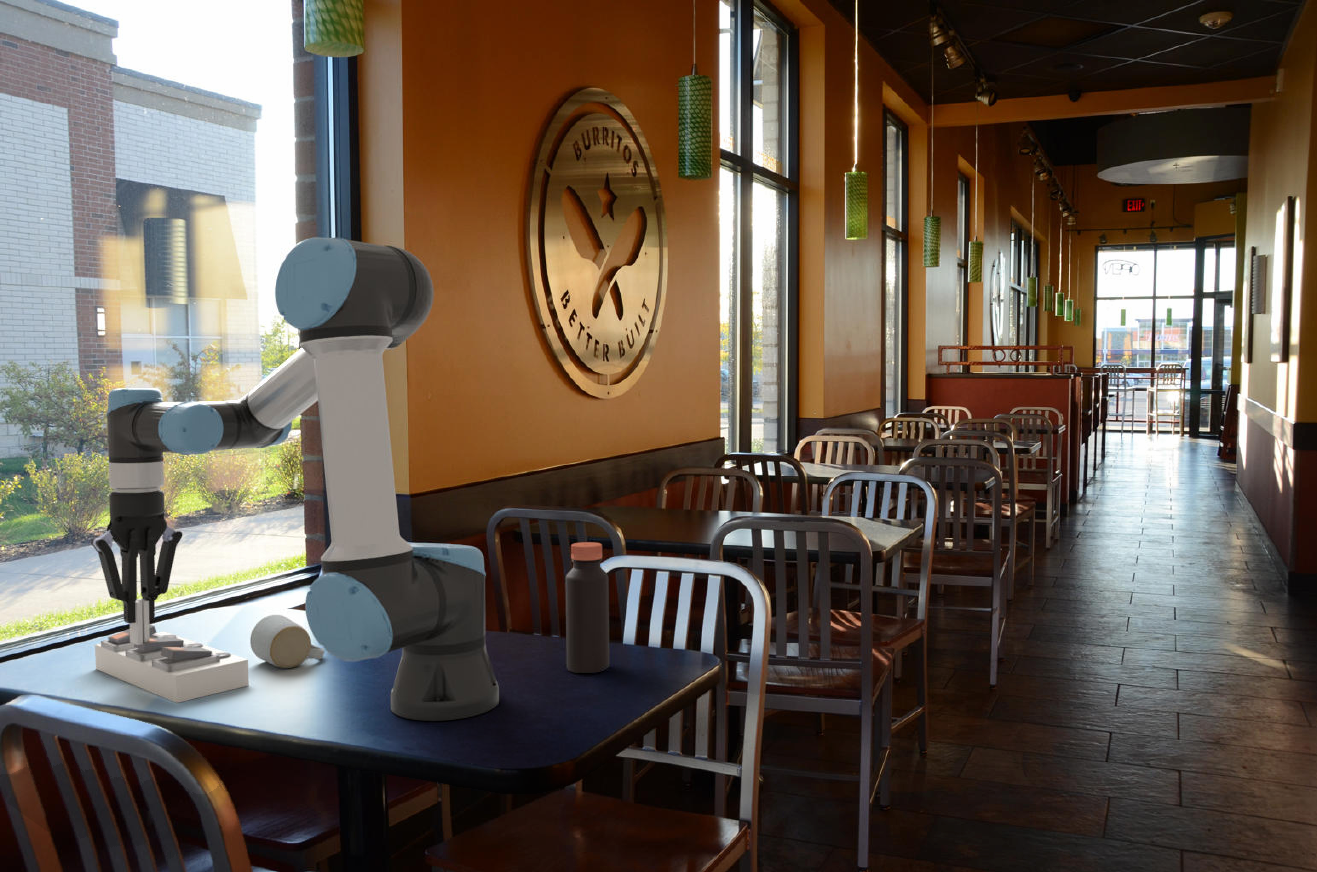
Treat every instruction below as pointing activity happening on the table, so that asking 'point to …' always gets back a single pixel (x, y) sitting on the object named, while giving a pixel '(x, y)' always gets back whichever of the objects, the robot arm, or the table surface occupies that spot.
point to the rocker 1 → (126, 636)
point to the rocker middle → (160, 643)
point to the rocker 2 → (185, 652)
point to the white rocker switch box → (173, 669)
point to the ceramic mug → (282, 642)
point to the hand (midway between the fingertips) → (139, 642)
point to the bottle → (587, 610)
